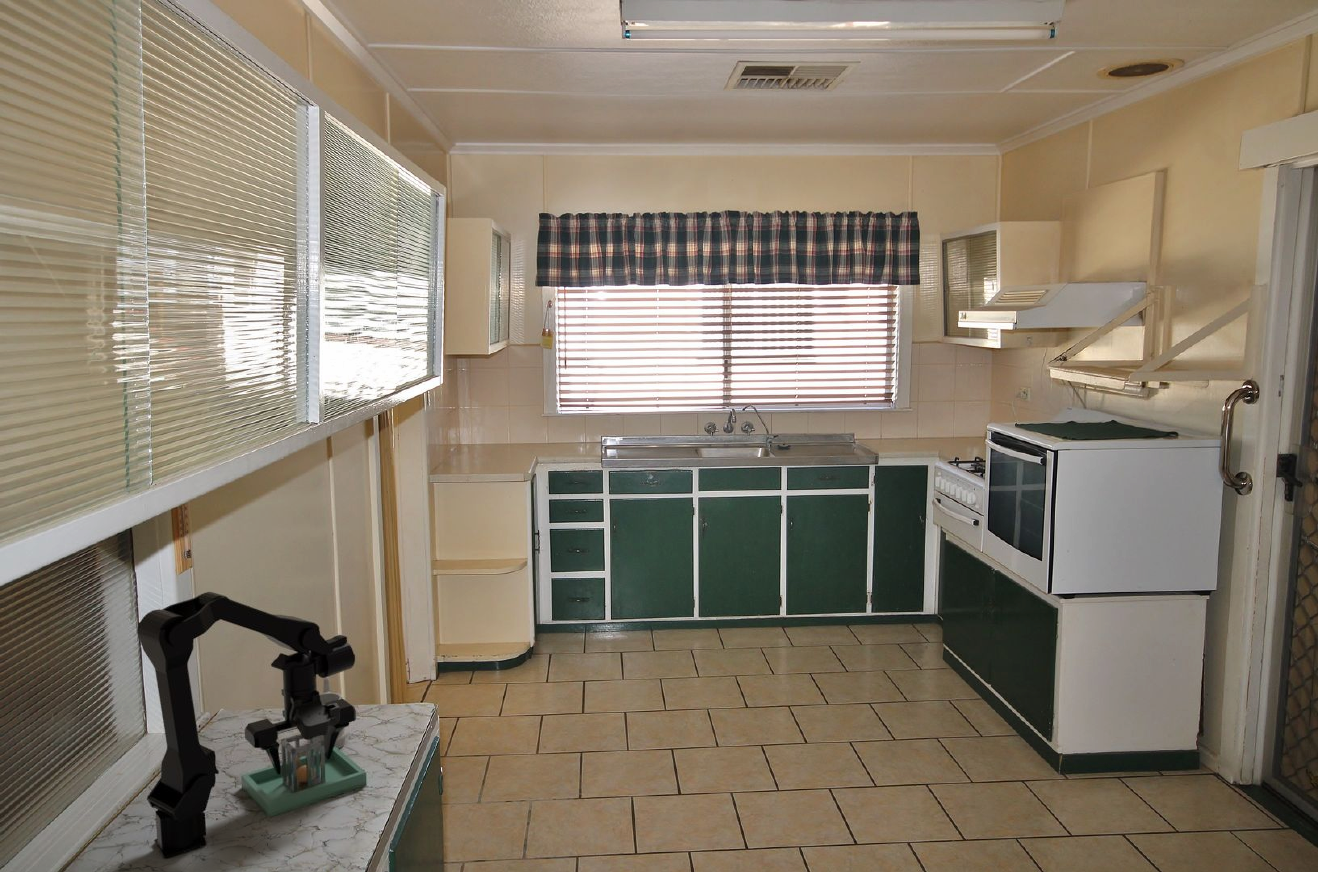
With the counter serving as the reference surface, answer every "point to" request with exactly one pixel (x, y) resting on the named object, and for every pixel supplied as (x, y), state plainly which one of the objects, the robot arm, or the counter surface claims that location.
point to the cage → (291, 774)
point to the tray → (279, 799)
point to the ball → (303, 774)
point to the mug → (326, 698)
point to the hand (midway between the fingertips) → (303, 766)
